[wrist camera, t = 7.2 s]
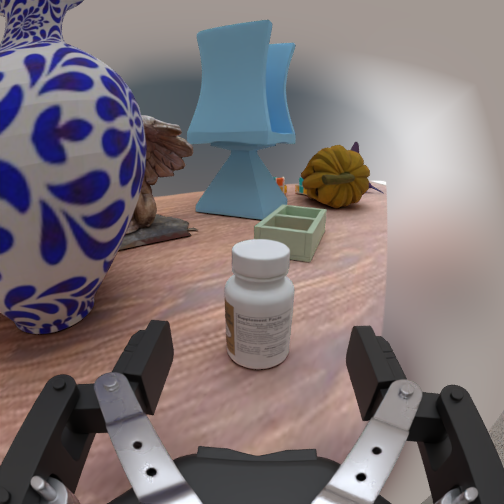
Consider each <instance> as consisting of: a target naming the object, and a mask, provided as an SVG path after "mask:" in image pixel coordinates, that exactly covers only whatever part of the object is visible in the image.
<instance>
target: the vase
mask: <svg viewBox="0 0 504 504" xmlns="http://www.w3.org/2000/svg"><path fill="white" fill-rule="evenodd" d="M83 1H84V0H0V15H1V16H3V17H5V18H6V28H5V33H4V36H3V39H2V42H1V44H0V313H1V314H3V315H4V316H6V317H8V318H9V319H11V320H12V321H14V322H15V325H16V326H17V327H18V328H19V329H20V330H22V331H24V332H27V333H32V334H46V333H52V332H56V331H59V330H63V329H65V328H68V327H70V326H72V325H74V324H76V323H77V322H79V321H80V320H82V319H83V318H84V317H85V316H86V315H87V314H88V313H89V312H90V311H91V309H92V308H93V306H94V296H95V294H96V292H97V290H98V288H99V286H100V284H101V283H102V281H103V279H104V277H105V275H106V273H107V271H108V269H109V268H110V266H111V264H112V262H113V260H114V258H115V256H116V254H117V252H118V250H119V247H120V245H121V243H122V240H123V238H124V236H125V234H126V231H127V229H128V227H129V224H130V221H131V218H132V216H133V213H134V210H135V207H136V204H137V202H138V199H139V195H140V190H141V186H142V182H143V178H144V174H145V169H146V147H147V145H146V139H145V132H144V125H143V121H142V117H141V113H140V109H139V106H138V104H137V102H136V100H135V98H134V96H133V94H132V92H131V90H130V88H129V87H128V86H127V84H126V83H125V82H124V81H123V79H122V78H121V77H120V76H119V75H118V74H117V73H116V72H115V71H113V70H112V69H111V68H110V67H109V66H107V65H106V64H105V63H103V62H102V61H100V60H99V59H97V58H95V57H94V56H92V55H90V54H88V53H86V52H84V51H82V50H80V49H78V48H76V47H74V46H71V45H69V44H66V43H65V42H64V40H63V36H62V22H63V18H64V16H65V14H66V11H68V10H70V9H72V8H74V7H76V6H78V5H79V4H80V3H82V2H83Z"/></svg>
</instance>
